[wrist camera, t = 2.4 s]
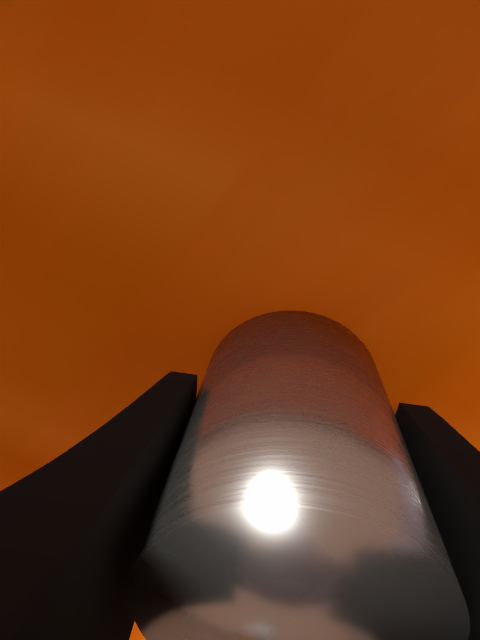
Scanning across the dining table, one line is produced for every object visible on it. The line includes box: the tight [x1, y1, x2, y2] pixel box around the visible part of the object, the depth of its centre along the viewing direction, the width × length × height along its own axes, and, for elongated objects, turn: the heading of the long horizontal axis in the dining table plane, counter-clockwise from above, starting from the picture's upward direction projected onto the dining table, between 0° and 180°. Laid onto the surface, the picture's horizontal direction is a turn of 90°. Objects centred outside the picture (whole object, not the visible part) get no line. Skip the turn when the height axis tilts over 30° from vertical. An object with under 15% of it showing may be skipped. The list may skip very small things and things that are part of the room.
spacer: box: [129, 311, 470, 640], centre depth 8 cm, size 4×4×6 cm
